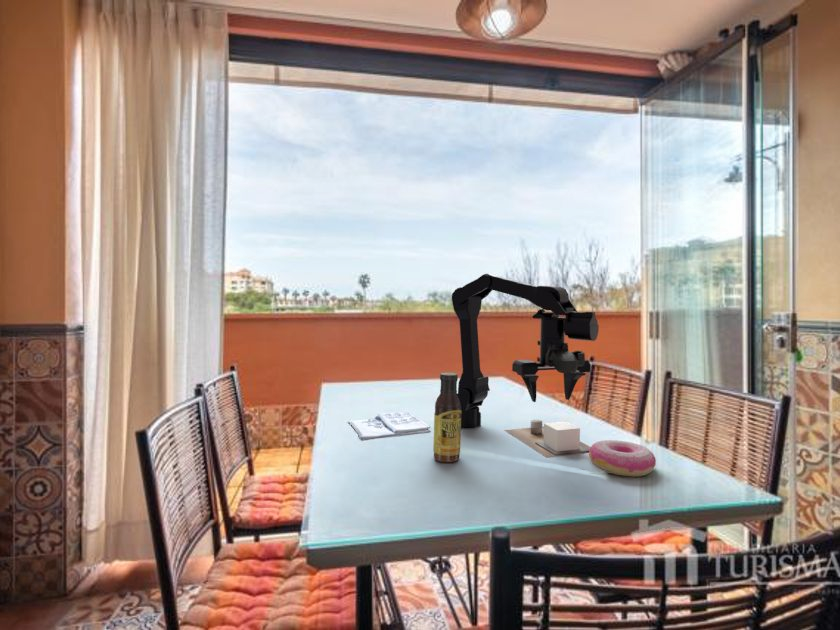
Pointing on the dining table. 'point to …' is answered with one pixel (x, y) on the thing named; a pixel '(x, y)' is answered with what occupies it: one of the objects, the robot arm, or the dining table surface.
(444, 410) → the sauce bottle
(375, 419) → the open sketchbook
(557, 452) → the post stand
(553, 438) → the off-white cube box
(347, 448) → the dining table surface
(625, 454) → the donut
